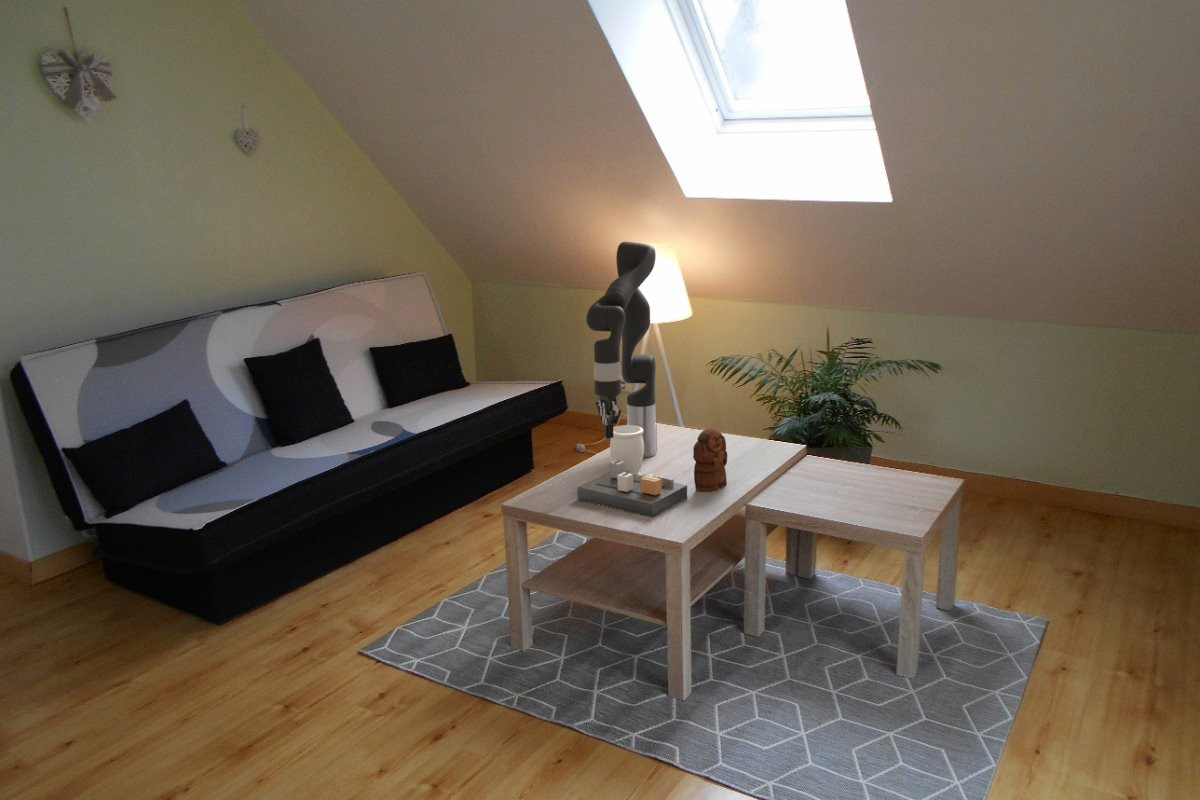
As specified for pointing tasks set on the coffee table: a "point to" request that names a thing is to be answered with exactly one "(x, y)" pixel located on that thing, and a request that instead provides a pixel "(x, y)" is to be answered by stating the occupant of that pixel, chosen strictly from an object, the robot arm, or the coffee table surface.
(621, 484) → the ivory slider
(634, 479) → the panel
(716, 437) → the wooden figurine
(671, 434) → the coffee table surface
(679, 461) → the coffee table surface
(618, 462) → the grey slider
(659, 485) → the tan box with strip
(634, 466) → the jar
